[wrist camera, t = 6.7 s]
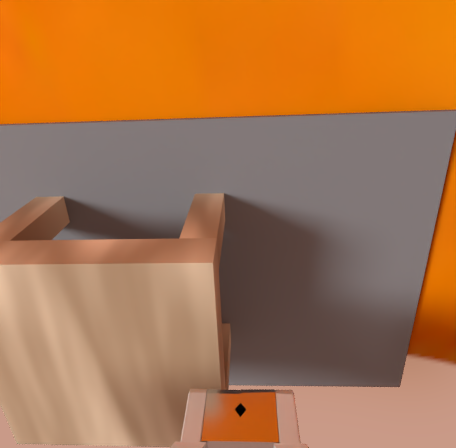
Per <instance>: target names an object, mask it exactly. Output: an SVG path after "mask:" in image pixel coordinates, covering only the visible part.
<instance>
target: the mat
mask: <svg viewBox="0 0 456 448" xmlns="http://www.w3.org/2000/svg"><path fill="white" fill-rule="evenodd" d="M455 131H456V110H432V111H401V112H370V113H339V114H308V115H277V116H246V117H215V118H184V119H153V120H122V121H91V122H60V123H28V124H0V222H2V221H3V220H5V219H6V218H7V217H9V216H10V215H12V214H13V213H14V212H16V211H17V210H19V209H20V208H21V207H23V206H24V205H26V204H27V203H28V202H30V201H31V200H33V199H34V198H35V197H59V196H64V200H65V204H66V208H67V212H68V216H69V221H70V222H69V223H68V224H67V225H66V226H65V227H64V228H63V229H62V230H61V231H60V232H59V233H58V234H57V235H56V236H55V237H54V238H53V239H52V240H105V239H179V238H180V235H181V232H182V229H183V226H184V224H185V221H186V218H187V215H188V212H189V209H190V207H191V204H192V201H193V198H194V195H195V194H206V193H224V204H225V225H224V233H223V241H222V249H221V256H220V264H219V284H220V301H221V318H222V323H230V332H231V351H230V369H229V385H262V386H263V385H264V386H265V385H266V386H268V385H269V386H358V387H359V386H360V387H361V386H362V387H366V386H367V387H368V386H369V387H400V383H401V379H402V374H403V370H404V365H405V361H406V356H407V351H408V347H409V342H410V338H411V333H412V329H413V324H414V319H415V315H416V310H417V306H418V301H419V296H420V292H421V287H422V283H423V278H424V273H425V269H426V264H427V260H428V255H429V250H430V246H431V241H432V237H433V232H434V228H435V223H436V218H437V214H438V209H439V205H440V200H441V195H442V191H443V186H444V182H445V177H446V172H447V168H448V163H449V159H450V154H451V149H452V145H453V140H454V136H455Z"/></svg>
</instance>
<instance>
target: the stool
mask: <svg viewBox="0 0 456 448" xmlns="http://www.w3.org/2000/svg"><path fill="white" fill-rule="evenodd" d="M69 222H70V221H69V216H68V212H67V208H66V204H65V200H64V196H59V197H35V198H34V199H33V200H31V201H30V202H28V203H27V204H26V205H24V206H23V207H21V208H20V209H19V210H17V211H16V212H14V213H13V214H12V215H10V216H9V217H7V218H6V219H5V220H3V221H2V222H0V405H1V407H2V410H3V412H4V414H5V417H6V419H7V421H8V424H9V426H10V428H11V431H12V433H13V435H14V438H15V440H16V442H17V444H51V445H100V446H102V445H103V446H150V447H151V446H153V447H171V446H172V445H173V444H174V442H178V441H181V435H182V429H183V423H184V417H185V411H186V405H187V400H188V394H189V391H190V389H220V390H228V386H229V369H230V351H231V332H230V323H222V318H221V301H220V284H219V264H220V256H221V249H222V241H223V233H224V225H225V204H224V193H206V194H195V195H194V198H193V201H192V204H191V207H190V209H189V212H188V215H187V218H186V221H185V224H184V226H183V229H182V232H181V235H180V238H179V239H105V240H52V239H53V238H54V237H55V236H56V235H57V234H58V233H59V232H60V231H61V230H62V229H63V228H64V227H65V226H66V225H67V224H68V223H69Z"/></svg>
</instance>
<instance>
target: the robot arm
mask: <svg viewBox="0 0 456 448" xmlns="http://www.w3.org/2000/svg"><path fill="white" fill-rule="evenodd" d="M170 448H309V447H308V446H307V445H306V444H301V442H300V435H299V428H298V420H297V413H296V406H295V398H294V393H293V391H292V390H220V389H190V391H189V394H188V400H187V405H186V411H185V417H184V423H183V429H182V435H181V441H178V442H174V444H173V445H172V446H171V447H170Z"/></svg>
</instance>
